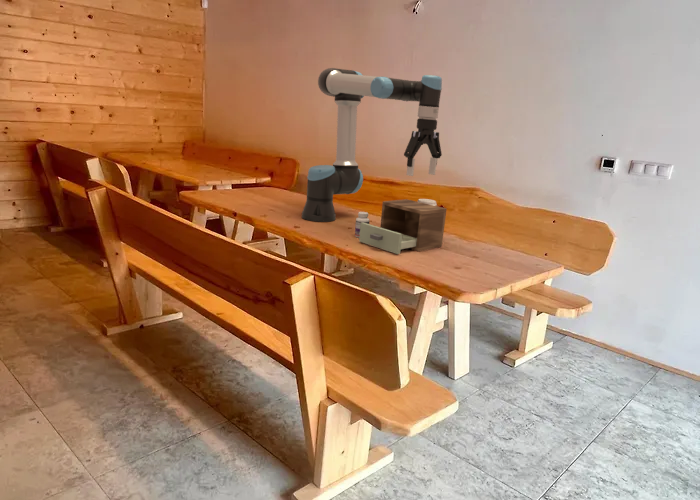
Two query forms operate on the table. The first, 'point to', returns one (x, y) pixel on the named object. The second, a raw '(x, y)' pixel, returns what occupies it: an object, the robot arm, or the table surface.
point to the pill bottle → (359, 220)
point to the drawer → (385, 238)
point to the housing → (415, 221)
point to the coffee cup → (427, 201)
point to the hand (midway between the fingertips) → (421, 175)
